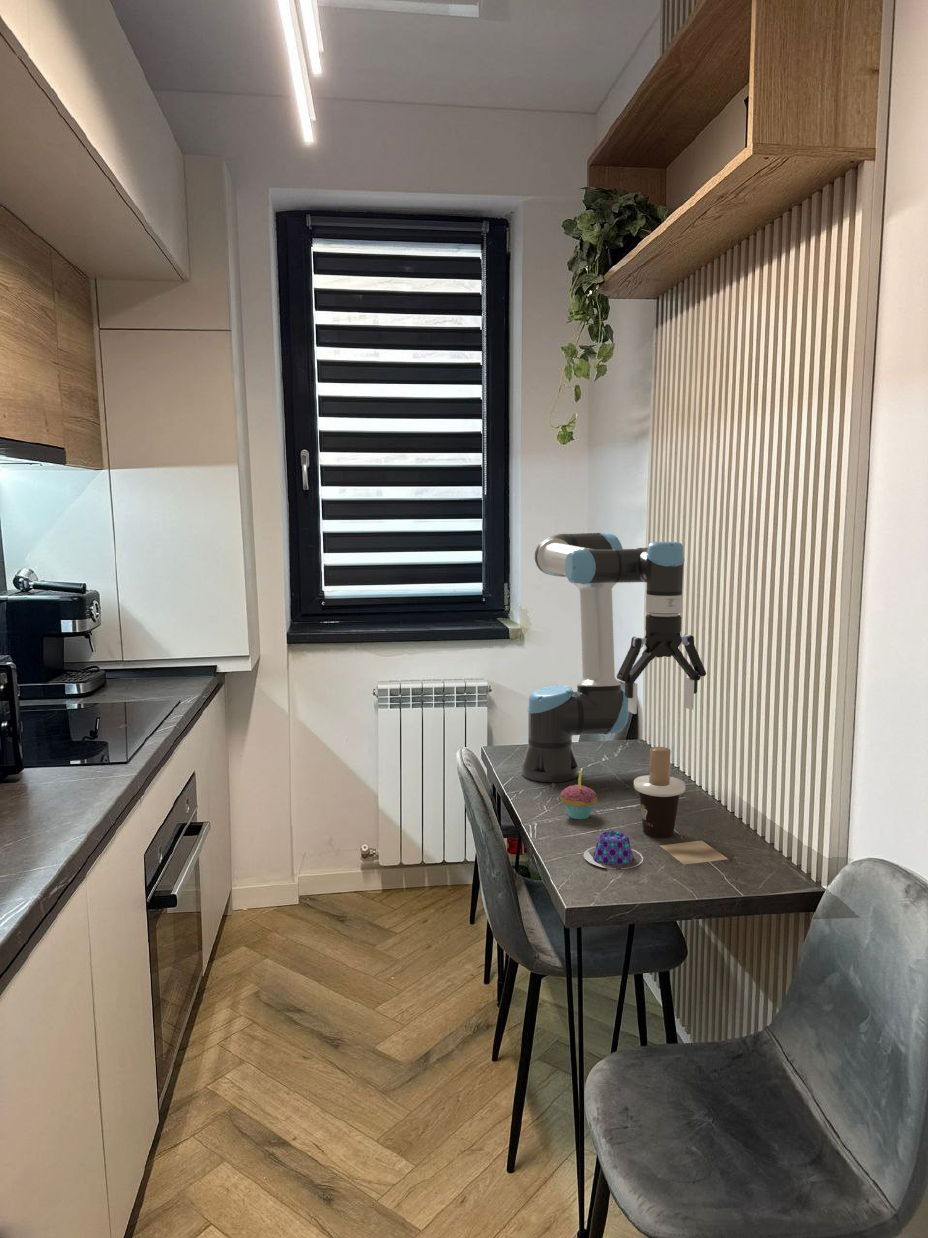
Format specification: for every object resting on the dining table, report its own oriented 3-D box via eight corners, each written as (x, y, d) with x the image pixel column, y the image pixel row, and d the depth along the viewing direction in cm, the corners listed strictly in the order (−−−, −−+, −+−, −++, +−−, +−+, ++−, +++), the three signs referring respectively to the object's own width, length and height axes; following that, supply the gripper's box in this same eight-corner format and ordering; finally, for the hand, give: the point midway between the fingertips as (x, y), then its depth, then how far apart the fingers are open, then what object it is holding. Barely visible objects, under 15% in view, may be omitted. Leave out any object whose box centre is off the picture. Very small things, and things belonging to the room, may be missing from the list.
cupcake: (600, 822, 192) (601, 771, 190) (563, 823, 192) (563, 772, 190) (592, 808, 200) (593, 759, 199) (557, 809, 200) (557, 760, 198)
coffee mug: (679, 843, 180) (680, 798, 178) (638, 840, 181) (639, 795, 180) (676, 823, 191) (678, 780, 190) (638, 821, 193) (639, 778, 191)
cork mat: (659, 847, 177) (659, 845, 177) (701, 842, 180) (701, 840, 180) (684, 866, 168) (684, 864, 168) (728, 860, 170) (728, 859, 170)
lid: (625, 782, 189) (625, 744, 187) (669, 778, 191) (670, 741, 190) (648, 798, 178) (649, 758, 177) (694, 793, 181) (696, 754, 180)
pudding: (623, 878, 163) (623, 852, 163) (571, 861, 171) (572, 836, 171) (654, 859, 172) (654, 834, 172) (603, 843, 180) (604, 820, 180)
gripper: (618, 618, 174) (615, 718, 177) (724, 614, 181) (720, 710, 184) (602, 613, 181) (600, 710, 184) (705, 609, 188) (702, 702, 191)
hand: (660, 710), depth 184 cm, fingers open, 13 cm apart
